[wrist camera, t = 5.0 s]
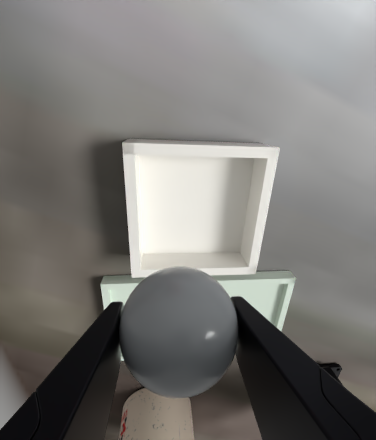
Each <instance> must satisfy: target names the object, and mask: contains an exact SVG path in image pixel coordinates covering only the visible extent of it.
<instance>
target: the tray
mask: <svg viewBox="0 0 376 440" xmlns="http://www.w3.org/2000/svg"><path fill="white" fill-rule="evenodd" d="M210 276H212V277H213V278H214V279H215V280H217V281H218V282H219V283H220V284H221V285H222V286H223V288H224V289H225V291H226V292H227V293H228V295H229V296H230V298H231V297H232V296H241V297H243V298H244V299H245V300H246V301H247V302H248V303H249V304H251V305H252V306H253V307H254V308H255V309H256V310H257V311H258V312H260V313H261V314H262V315H263V316H264V317H265V318H266V319H268V320H269V321H270V322H271V323H272V324H273V325H274V326H275V327H277V328H278V329H279V330H280V331H281V330H282V327H283V323H284V320H285V316H286V312H287V309H288V305H289V302H290V298H291V295H292V291H293V287H294V284H295V280H296V278H295V276H294V275H293V274H292V273H291V272H290V271H261V272H256V274H244V275H210ZM145 278H146V277H139V278H132V275H115V276H103V279H102V282H101V284H100V285H101V292H102V299H103V306H104V310H105V309H106V308H107V306H108V305H109V304H110V303H111V302H118V301H122V302H123V305H125V303H126V301H127V299H128V297H129V296H130V294H131V293H132V291H133V290H134V289H135V287H136V286H137V285H138V284H139V283H140V282H141V281H142V280H144V279H145ZM121 361H124V359H123V356H122V353H121Z"/></svg>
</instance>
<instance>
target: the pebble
mask: <svg viewBox="0 0 376 440" xmlns="http://www.w3.org/2000/svg"><path fill="white" fill-rule="evenodd" d="M238 333H239V328H238V319H237V314H236V311H235V307H234V305H233V303H232V301H231V299H230V296H229V295H228V293H227V292H226V291H225V289H224V288H223V286H222V285H221V284H220V283H219V282H218V281H217V280H215V279H214V278H213V277H212V276H210V275H208V274H207V273H205V272H203V271H201V270H198V269H195V268H191V267H185V266H174V267H168V268H164V269H161V270H159V271H156V272H154V273H152V274H151V275H149V276H147V277H146V278H145V279H144V280H142V281H141V282H140V283H139V284H138V285H137V286H136V287H135V289H134V290H133V291H132V293H131V294H130V296H129V297H128V299H127V301H126V303H125V305H124V308H123V311H122V314H121V318H120V324H119V344H120V348H121V353H122V356H123V359H124V361H125V364H126V366H127V368H128V369H129V371H130V372H131V374H132V375H133V377H134V378H135V379H136V380H137V381H138V382H139V383H140V384H141V385H142V386H143V387H145V388H146V389H148V390H149V391H151V392H152V393H155V394H157V395H160V396H163V397H166V398H173V399H182V398H189V397H193V396H196V395H199V394H201V393H203V392H205V391H207V390H208V389H210V388H211V387H212V386H214V385H215V384H216V383H217V382H218V381H219V380H220V379H221V378H222V377H223V375H224V374H225V373H226V371H227V370H228V368H229V366H230V365H231V363H232V361H233V358H234V355H235V352H236V349H237V344H238Z"/></svg>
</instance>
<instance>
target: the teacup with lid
mask: <svg viewBox="0 0 376 440" xmlns="http://www.w3.org/2000/svg"><path fill="white" fill-rule="evenodd" d="M119 440H194V432H193V422H192V412H191V402H190V399H189V398H182V399H173V398H166V397H163V396H160V395H157V394H155V393H152V392H151V391H149V390H148V389H146V388H143V389H140V390H138V391H136V392H135V393H133V394H132V395H131V396H130V397H129V398H128V399H127V400H126V402H125V404H124V406H123V412H122V419H121V426H120V433H119Z"/></svg>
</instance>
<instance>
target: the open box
mask: <svg viewBox="0 0 376 440" xmlns="http://www.w3.org/2000/svg"><path fill="white" fill-rule="evenodd" d="M122 148H123V162H124V176H125V190H126V204H127V218H128V232H129V246H130V260H131V274H132V278H139V277H147V276H149V275H151V274H152V273H154V272H156V271H159V270H161V269H164V268H168V267H174V266H185V267H191V268H195V269H198V270H201V271H203V272H205V273H207V274H208V275H244V274H256V270H257V265H258V259H259V254H260V249H261V244H262V239H263V233H264V228H265V223H266V218H267V213H268V207H269V202H270V197H271V192H272V187H273V181H274V176H275V171H276V166H277V161H278V155H279V150H280V148H279V147H275V146H271V145H267V144H263V143H244V142H214V141H185V140H155V139H127V140H126V141H124V142H122Z"/></svg>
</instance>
